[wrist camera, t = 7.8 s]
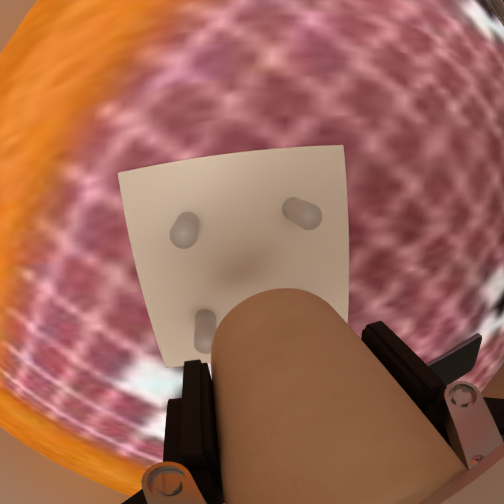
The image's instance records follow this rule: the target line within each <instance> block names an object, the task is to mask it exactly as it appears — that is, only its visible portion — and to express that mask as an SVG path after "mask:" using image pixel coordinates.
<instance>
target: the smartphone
mask: <svg viewBox="0 0 504 504" xmlns="http://www.w3.org/2000/svg"><path fill="white" fill-rule="evenodd" d="M481 341H482V336H481V335H480V334H476V335H474V336H472V337H471V338H469V339H467V340H466V341H464V342H463V343H461V344H459V345H458V346H456V347H455V348H453V349H451V350H450V351H448V352H446V353H445V354H443V355H441V356H439V357H438V358H436V359H434V360H432V361H430V362H429V363H427V364H426V365H427V366H428V367H429V368H430V369H431V370H432V371H433V372H434V373H435V374H436V375H437V376H438V377H439V378H440V379H441V380H442V381H443V382H444V384H445V385H446V386H447V385H449V384H451V383H452V382H454V381H455V380H457V379H459V378H460V377H462V376H463V375H465V374H467V373H468V372H470V371H471V370H472V369H473V367H474V365H475V363H476V359H477V356H478V352H479V349H480V345H481Z"/></svg>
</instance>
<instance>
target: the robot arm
mask: <svg viewBox="0 0 504 504" xmlns="http://www.w3.org/2000/svg"><path fill="white" fill-rule="evenodd" d="M361 340H362V341H363V342H364V344H365V345H366V346H367V347H368V348H369V349H370V351H371V352H372V353H373V354H374V355H375V356H376V358H377V359H378V360H379V361H380V362H381V363H382V365H383V366H384V367H385V368H386V369H387V371H388V372H389V373H390V374H391V375H392V376H393V378H394V379H395V380H396V381H397V382H398V384H399V385H400V386H401V387H402V388H403V390H404V391H405V392H406V393H407V394H408V396H409V397H410V398H411V399H412V400H413V402H414V403H415V404H416V405H417V407H418V408H419V409H420V410H421V411H422V413H423V414H424V415H425V416H426V418H427V419H428V420H429V421H430V423H431V424H432V425H433V426H434V427H435V429H436V430H437V431H438V432H439V434H440V435H441V436H442V437H443V439H444V440H445V441H446V442H447V444H448V445H449V446H450V447H451V449H452V450H453V451H454V453H455V454H456V455H457V456H458V458H459V459H460V460H461V462H462V463H463V464H464V465H465V467H466V468H467V471H466V472H465V473H464V474H462V475H461V476H459V477H458V478H456V479H455V480H453V481H452V482H450V483H449V484H447V485H446V486H444V487H443V488H441V489H439V490H438V491H436V492H435V493H433V494H432V495H431V496H429V497H428V498H426V499H425V500H424V501H422V502H421V503H419V504H504V399H498V398H487V397H482V395H481V393H480V391H479V389H478V388H477V387H476V386H475V385H473V384H472V383H469V382H466V381H456V382H454V383H451V384H450V385H449V386H446V385H445V384H444V382H443V381H442V380H441V379H440V378H439V377H438V376H437V375H436V374H435V373H434V372H433V371H432V370H431V369H430V368H429V367H428V366H427V365H426V364H425V363H424V362H423V361H422V360H421V359H420V358H419V357H418V356H417V355H416V354H415V353H414V352H413V351H412V350H411V349H410V348H409V347H408V346H407V345H406V344H405V343H404V342H403V341H402V340H401V339H400V338H399V337H398V336H397V335H396V334H395V333H394V332H393V331H391V330H390V329H389V328H388V327H387V326H386V325H385V324H384V323H383V322H382V321H378V322H375V323H371V324H368V325H366V328H365V329H364V330H363V331H362V337H361ZM141 483H142V490H140V491H139V492H137V493H136V494H135V495H133V496H132V497H130V498H129V499H128V500H126V501H125V502H123V503H122V504H223V503H225V502H224V494H223V487H222V479H221V470H220V462H219V452H218V443H217V433H216V422H215V411H214V399H213V386H212V379H211V375H210V372H209V368H208V364H207V362H206V363H201V360H200V359H198V360H190V361H185V362H184V371H183V388H182V398H177V399H169V400H168V404H167V415H166V426H165V439H164V453H163V462H160V463H157V464H155V465H152V466H151V467H150V468H148V469H147V470H146V471H145V473H144V474H143V477H142V481H141Z"/></svg>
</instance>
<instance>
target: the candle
mask: <svg viewBox="0 0 504 504" xmlns="http://www.w3.org/2000/svg"><path fill="white" fill-rule="evenodd" d="M211 372H212V386H213V399H214V411H215V422H216V433H217V443H218V452H219V462H220V470H221V479H222V487H223V494H224V502H225V504H419V503H421V502H422V501H424V500H425V499H426V498H428V497H429V496H431V495H432V494H433V493H435V492H436V491H438V490H439V489H441V488H443V487H444V486H446V485H447V484H449V483H450V482H452V481H453V480H455V479H456V478H458V477H459V476H461V475H462V474H464V473H465V472H466V471H467V468H466V467H465V465H464V464H463V463H462V462H461V460H460V459H459V458H458V456H457V455H456V454H455V453H454V451H453V450H452V449H451V447H450V446H449V445H448V444H447V442H446V441H445V440H444V439H443V437H442V436H441V435H440V434H439V432H438V431H437V430H436V429H435V427H434V426H433V425H432V424H431V423H430V421H429V420H428V419H427V418H426V416H425V415H424V414H423V413H422V411H421V410H420V409H419V408H418V407H417V405H416V404H415V403H414V402H413V400H412V399H411V398H410V397H409V396H408V394H407V393H406V392H405V391H404V390H403V388H402V387H401V386H400V385H399V384H398V382H397V381H396V380H395V379H394V378H393V376H392V375H391V374H390V373H389V372H388V371H387V369H386V368H385V367H384V366H383V365H382V363H381V362H380V361H379V360H378V359H377V358H376V356H375V355H374V354H373V353H372V352H371V351H370V349H369V348H368V347H367V346H366V345H365V344H364V342H363V341H362V340H361V339H360V338H359V337H358V335H357V334H356V333H355V332H354V331H353V330H352V328H351V327H350V326H349V325H348V324H347V323H346V322H345V320H344V319H343V318H342V317H341V316H340V315H339V314H338V313H337V312H336V311H335V310H334V308H333V307H332V306H331V305H330V304H329V303H327V302H326V301H325V300H323V299H322V298H320V297H319V296H317V295H315V294H313V293H311V292H308V291H305V290H300V289H294V288H279V289H272V290H267V291H264V292H261V293H258V294H255V295H253V296H251V297H249V298H247V299H245V300H244V301H242V302H240V303H239V304H238V305H236V306H235V307H234V308H233V309H232V310H231V311H230V312H228V313H227V315H226V316H225V317H224V318H223V320H222V321H221V323H220V324H219V326H218V327H217V330H216V332H215V334H214V338H213V342H212V346H211Z"/></svg>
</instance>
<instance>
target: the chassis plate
mask: <svg viewBox="0 0 504 504" xmlns="http://www.w3.org/2000/svg"><path fill="white" fill-rule="evenodd" d="M118 177H119V183H120V190H121V196H122V202H123V208H124V213H125V218H126V224H127V229H128V234H129V238H130V243H131V248H132V252H133V257H134V261H135V265H136V269H137V273H138V277H139V281H140V285H141V289H142V293H143V296H144V300H145V303H146V307H147V310H148V314H149V317H150V321H151V324H152V327H153V330H154V334H155V337H156V340H157V343H158V346H159V349H160V352H161V355H162V358H163V361H164V364H165V367H166V368H168V367H178V366H184V362H185V361H190V360H198V359H200V360H201V363H206V362H207V363H210V362H211V346H212V342H213V338H214V334H215V332H216V330H217V327H218V326H219V324H220V323H221V321H222V320H223V318H224V317H225V316H226V315H227V313H228V312H230V311H231V310H232V309H233V308H234V307H235V306H236V305H238V304H239V303H240V302H242V301H244V300H245V299H247V298H249V297H251V296H253V295H255V294H258V293H261V292H264V291H267V290H272V289H279V288H294V289H300V290H305V291H308V292H311V293H313V294H315V295H317V296H319V297H320V298H322V299H323V300H325V301H326V302H327V303H329V304H330V305H331V306H332V307H333V308H334V310H335V311H336V312H337V313H338V314H339V315H340V316H341V317H342V318H343V319H344V320H345V322H346V323H347V324H348V302H349V223H348V200H347V183H346V169H345V157H344V147H343V145H328V146H307V147H291V148H278V149H267V150H256V151H247V152H238V153H230V154H222V155H214V156H207V157H200V158H194V159H187V160H181V161H175V162H170V163H164V164H159V165H154V166H148V167H143V168H138V169H134V170H129V171H124V172H120V173H118Z"/></svg>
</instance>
